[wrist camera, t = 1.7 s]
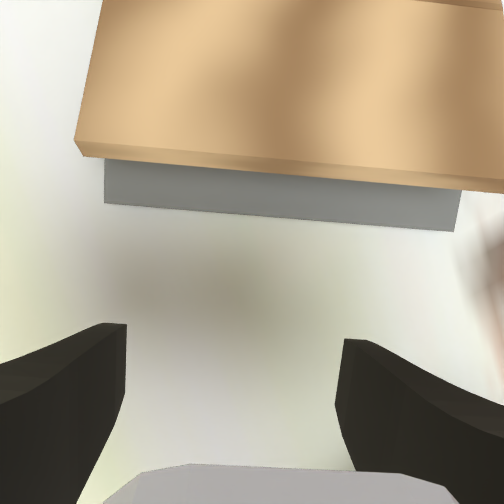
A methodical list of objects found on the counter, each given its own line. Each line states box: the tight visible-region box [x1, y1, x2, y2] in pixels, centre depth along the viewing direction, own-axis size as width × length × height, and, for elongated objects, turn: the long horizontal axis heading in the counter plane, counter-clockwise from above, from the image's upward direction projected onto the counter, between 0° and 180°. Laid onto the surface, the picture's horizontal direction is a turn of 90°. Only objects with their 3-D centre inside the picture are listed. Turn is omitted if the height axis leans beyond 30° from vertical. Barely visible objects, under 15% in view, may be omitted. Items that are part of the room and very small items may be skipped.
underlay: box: [104, 158, 462, 232], centre depth 18 cm, size 16×12×1 cm
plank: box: [74, 0, 504, 194], centre depth 15 cm, size 15×8×1 cm
